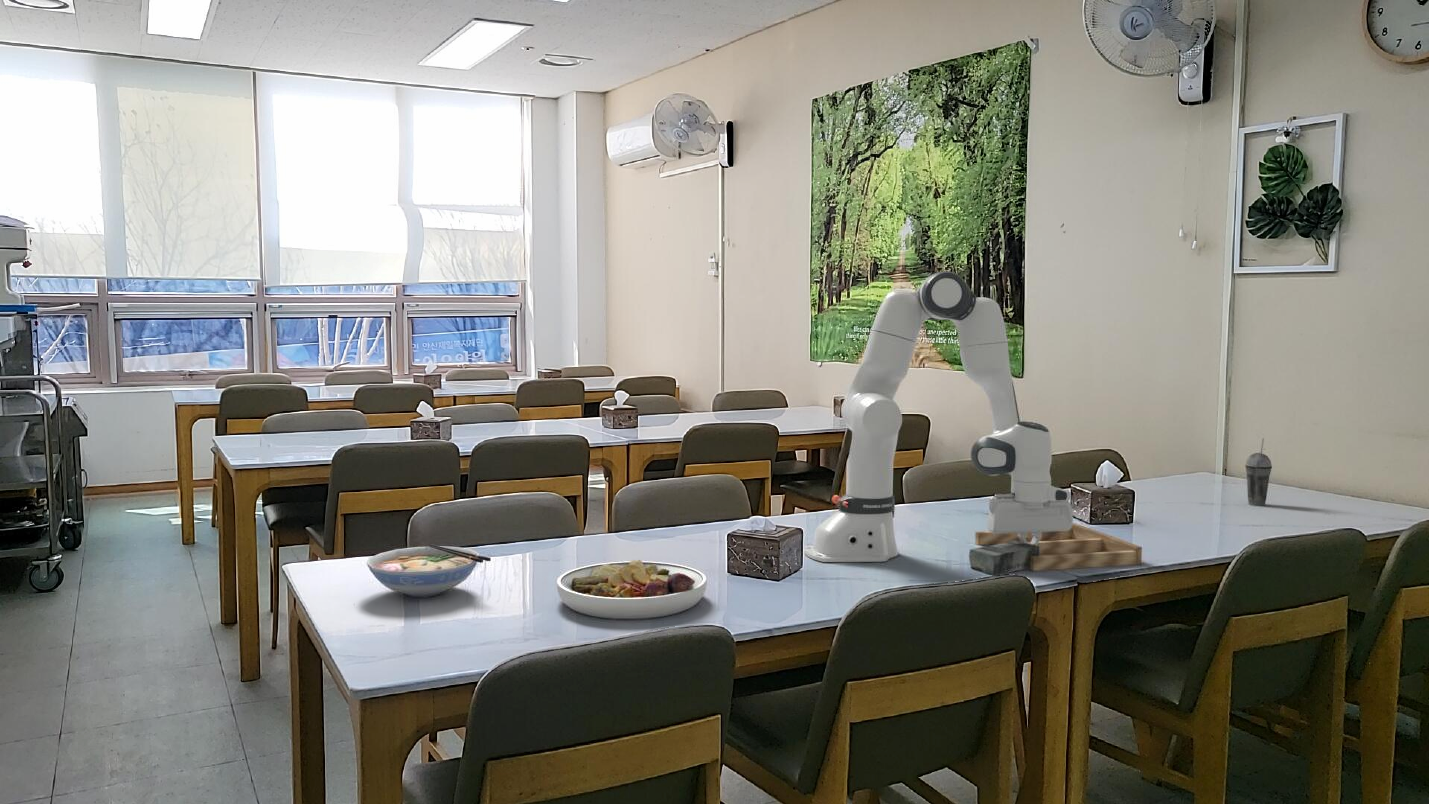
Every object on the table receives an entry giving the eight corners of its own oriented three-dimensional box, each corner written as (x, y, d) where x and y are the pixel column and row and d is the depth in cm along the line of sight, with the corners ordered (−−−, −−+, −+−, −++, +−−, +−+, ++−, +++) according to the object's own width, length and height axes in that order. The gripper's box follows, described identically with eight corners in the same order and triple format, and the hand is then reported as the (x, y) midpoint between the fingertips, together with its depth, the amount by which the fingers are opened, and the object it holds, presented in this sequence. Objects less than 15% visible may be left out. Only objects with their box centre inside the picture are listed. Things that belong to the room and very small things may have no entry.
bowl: (525, 608, 216) (525, 569, 215) (620, 577, 241) (620, 542, 240) (646, 633, 199) (646, 591, 198) (734, 597, 224) (735, 559, 223)
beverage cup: (1237, 503, 329) (1240, 437, 327) (1257, 501, 331) (1260, 436, 329) (1256, 507, 322) (1259, 440, 320) (1276, 506, 324) (1279, 439, 322)
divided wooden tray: (1033, 570, 245) (1034, 553, 245) (975, 543, 273) (975, 527, 273) (1141, 564, 252) (1142, 547, 251) (1073, 538, 279) (1074, 522, 279)
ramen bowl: (344, 591, 227) (343, 553, 226) (442, 572, 243) (441, 536, 242) (404, 616, 209) (403, 574, 208) (505, 594, 225) (504, 555, 224)
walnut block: (1041, 551, 265) (1041, 527, 264) (1023, 546, 270) (1024, 522, 270) (1059, 548, 268) (1059, 524, 267) (1041, 544, 273) (1041, 520, 272)
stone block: (964, 568, 249) (965, 546, 248) (1011, 561, 256) (1011, 539, 255) (993, 576, 241) (993, 553, 241) (1039, 568, 248) (1040, 546, 248)
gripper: (996, 496, 246) (994, 556, 248) (1077, 492, 251) (1075, 551, 252) (983, 491, 253) (981, 550, 254) (1062, 488, 257) (1060, 545, 258)
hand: (1029, 551), depth 253 cm, fingers closed
